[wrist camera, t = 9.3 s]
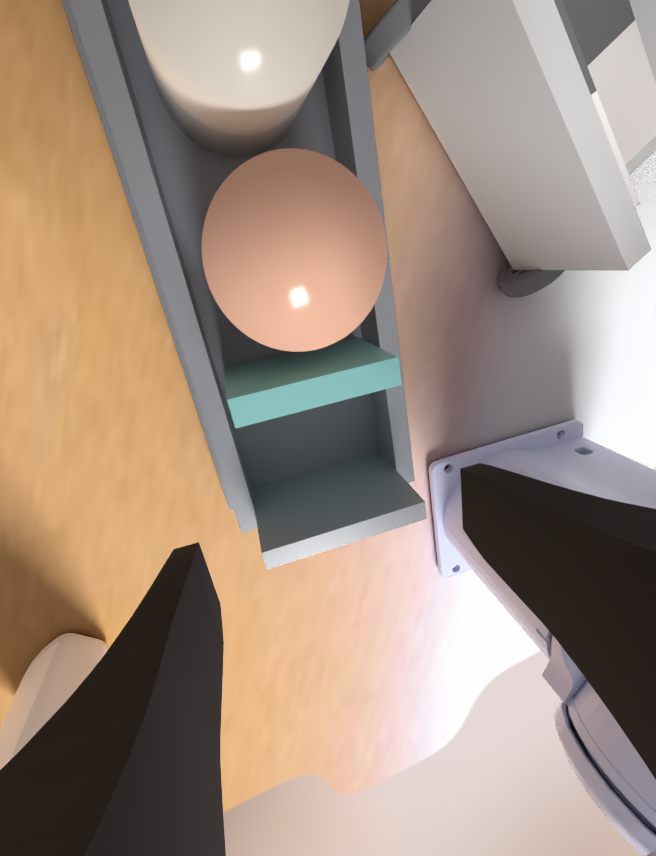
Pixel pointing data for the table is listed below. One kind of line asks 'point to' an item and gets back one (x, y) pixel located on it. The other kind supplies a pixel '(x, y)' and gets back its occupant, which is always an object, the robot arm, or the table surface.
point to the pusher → (307, 380)
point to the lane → (219, 338)
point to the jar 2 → (294, 250)
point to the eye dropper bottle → (47, 688)
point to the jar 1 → (236, 65)
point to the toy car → (537, 119)
